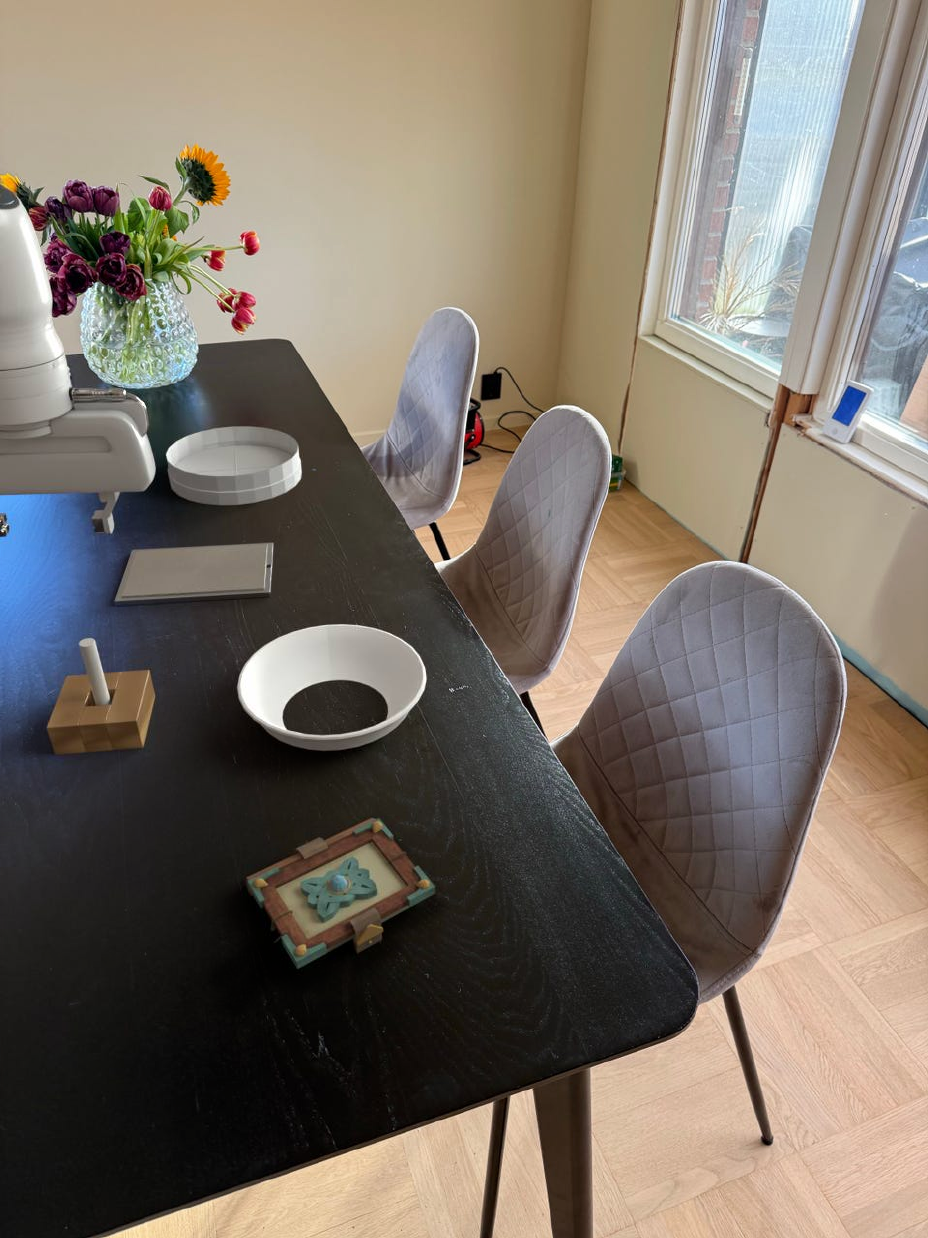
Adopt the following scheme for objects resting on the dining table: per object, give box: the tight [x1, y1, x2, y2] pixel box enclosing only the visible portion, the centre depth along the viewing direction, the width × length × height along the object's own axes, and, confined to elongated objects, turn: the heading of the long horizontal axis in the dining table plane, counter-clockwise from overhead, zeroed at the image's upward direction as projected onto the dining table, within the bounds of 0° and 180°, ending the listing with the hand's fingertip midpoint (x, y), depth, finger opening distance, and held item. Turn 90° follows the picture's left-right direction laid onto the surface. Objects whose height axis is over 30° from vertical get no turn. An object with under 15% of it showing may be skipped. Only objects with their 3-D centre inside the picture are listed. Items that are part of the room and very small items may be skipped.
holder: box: [46, 669, 156, 756], centre depth 90 cm, size 9×9×5 cm
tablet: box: [114, 542, 275, 607], centre depth 119 cm, size 20×14×1 cm
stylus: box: [78, 637, 111, 706], centre depth 88 cm, size 2×2×12 cm
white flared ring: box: [236, 623, 427, 752], centre depth 92 cm, size 20×20×6 cm
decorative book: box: [245, 817, 436, 970], centre depth 70 cm, size 13×18×5 cm
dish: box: [165, 425, 303, 506], centre depth 146 cm, size 22×22×5 cm
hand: (52, 532), depth 81 cm, fingers open, 8 cm apart
